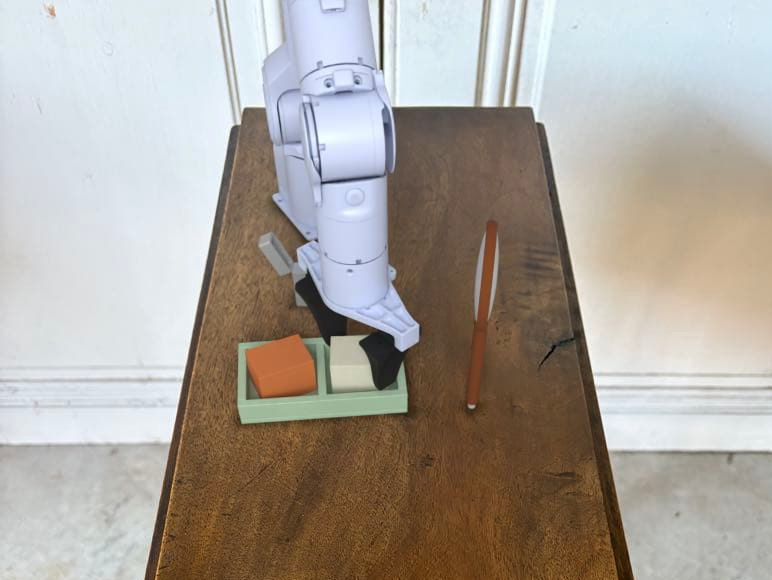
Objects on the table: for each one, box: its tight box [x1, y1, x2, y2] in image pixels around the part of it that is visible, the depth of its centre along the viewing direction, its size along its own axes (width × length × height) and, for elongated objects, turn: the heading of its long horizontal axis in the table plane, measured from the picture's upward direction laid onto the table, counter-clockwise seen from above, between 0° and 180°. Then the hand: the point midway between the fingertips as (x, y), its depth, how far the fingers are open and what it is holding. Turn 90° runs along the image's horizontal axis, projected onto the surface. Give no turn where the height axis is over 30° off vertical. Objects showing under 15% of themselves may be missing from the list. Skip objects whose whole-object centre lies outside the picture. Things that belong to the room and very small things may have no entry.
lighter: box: [258, 231, 308, 308], centre depth 82 cm, size 7×2×8 cm, turn 87°
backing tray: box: [236, 333, 409, 425], centre depth 78 cm, size 8×16×2 cm, turn 96°
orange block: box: [245, 333, 317, 399], centre depth 77 cm, size 6×4×4 cm
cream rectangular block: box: [330, 335, 389, 394], centre depth 77 cm, size 6×4×4 cm
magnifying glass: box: [465, 219, 500, 410], centre depth 69 cm, size 9×2×20 cm, turn 173°
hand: (360, 361), depth 77 cm, fingers open, 7 cm apart
